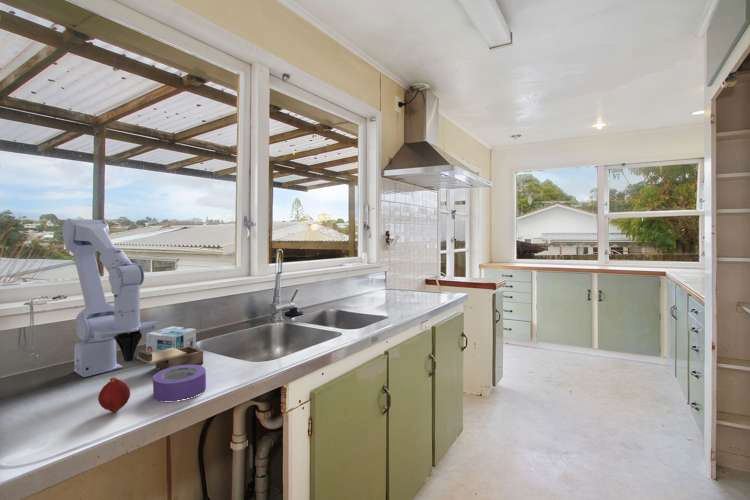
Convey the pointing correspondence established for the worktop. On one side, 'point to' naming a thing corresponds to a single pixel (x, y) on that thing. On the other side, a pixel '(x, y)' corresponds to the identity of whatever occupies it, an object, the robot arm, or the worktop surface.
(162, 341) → the light bulb box
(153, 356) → the lid
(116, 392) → the onion
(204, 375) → the tape roll
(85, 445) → the worktop surface
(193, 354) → the walnut box
